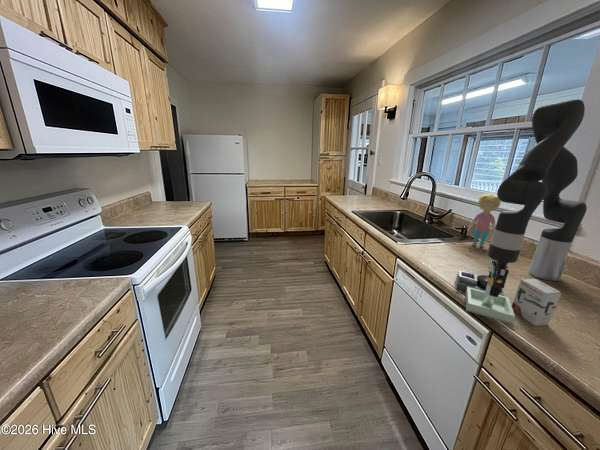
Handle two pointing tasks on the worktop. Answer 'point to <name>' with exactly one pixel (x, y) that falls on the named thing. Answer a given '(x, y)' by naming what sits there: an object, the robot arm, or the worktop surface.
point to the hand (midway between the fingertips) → (491, 289)
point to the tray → (498, 311)
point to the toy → (485, 217)
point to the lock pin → (488, 295)
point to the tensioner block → (472, 282)
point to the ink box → (535, 301)
